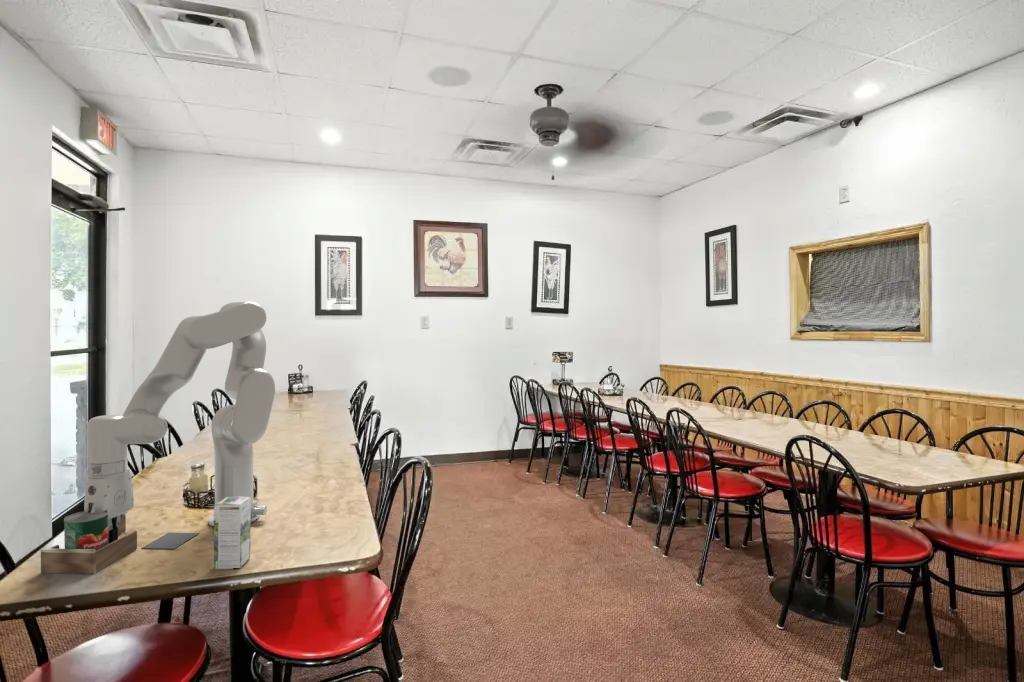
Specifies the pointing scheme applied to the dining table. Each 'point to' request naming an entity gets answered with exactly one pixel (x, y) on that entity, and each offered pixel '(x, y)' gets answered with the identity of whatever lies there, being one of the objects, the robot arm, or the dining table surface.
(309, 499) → the dining table surface
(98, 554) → the corral
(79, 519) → the canned tomato
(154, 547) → the mats
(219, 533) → the syrup box
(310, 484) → the dining table surface
